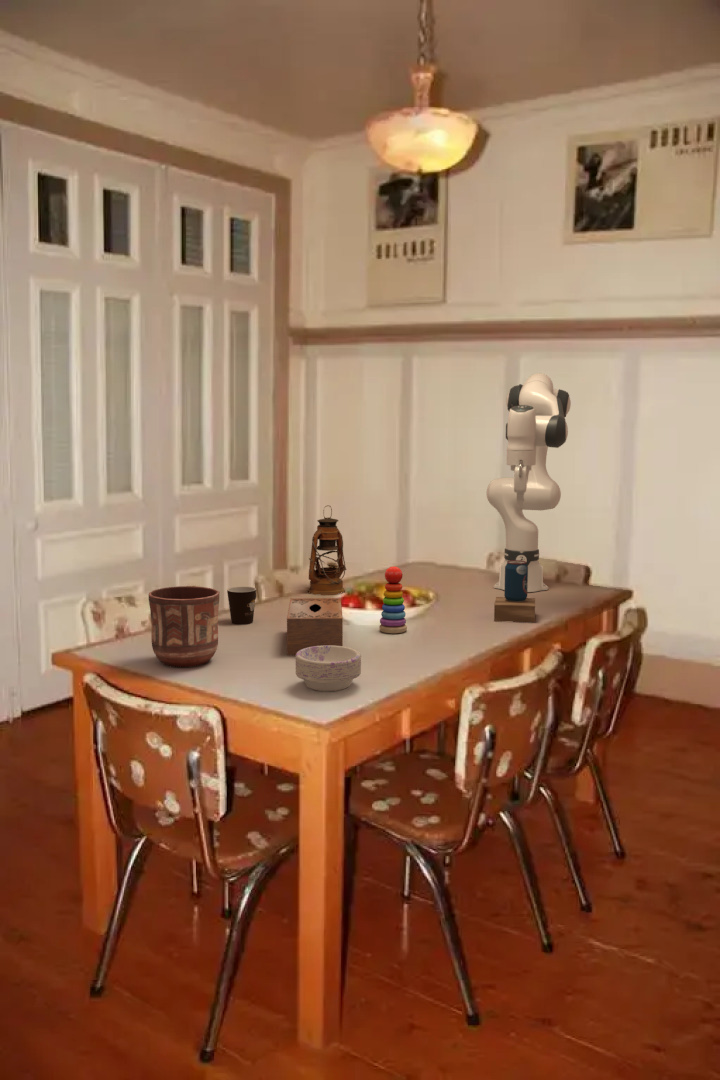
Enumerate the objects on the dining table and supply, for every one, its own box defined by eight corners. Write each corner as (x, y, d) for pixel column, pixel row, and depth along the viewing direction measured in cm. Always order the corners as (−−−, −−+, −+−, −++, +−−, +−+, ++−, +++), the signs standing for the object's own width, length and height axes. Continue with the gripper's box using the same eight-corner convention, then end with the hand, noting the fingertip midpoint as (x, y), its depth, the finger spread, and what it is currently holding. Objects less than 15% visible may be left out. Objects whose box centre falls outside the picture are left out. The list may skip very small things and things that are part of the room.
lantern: (330, 585, 349) (330, 502, 344) (356, 590, 340) (356, 504, 335) (295, 592, 336) (294, 505, 332) (322, 597, 328) (321, 508, 323)
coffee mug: (237, 626, 285) (237, 593, 284) (222, 621, 292) (221, 589, 291) (270, 621, 293) (270, 588, 291) (254, 616, 299) (254, 584, 298)
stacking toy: (411, 633, 278) (412, 568, 276) (385, 635, 275) (386, 570, 273) (400, 627, 286) (400, 563, 283) (375, 629, 283) (375, 565, 280)
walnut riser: (495, 612, 305) (496, 596, 304) (534, 614, 303) (535, 598, 302) (494, 621, 293) (494, 604, 292) (534, 622, 291) (535, 606, 290)
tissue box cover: (290, 632, 280) (290, 598, 278) (340, 632, 280) (340, 598, 279) (287, 656, 254) (286, 618, 253) (342, 655, 255) (342, 618, 253)
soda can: (529, 602, 296) (530, 563, 294) (506, 602, 295) (507, 563, 294) (524, 597, 303) (525, 559, 301) (502, 598, 302) (503, 559, 301)
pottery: (152, 673, 237) (151, 600, 235) (147, 655, 254) (145, 587, 251) (225, 668, 242) (224, 597, 240) (215, 651, 259) (214, 584, 256)
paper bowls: (346, 699, 218) (346, 664, 216) (284, 691, 223) (284, 657, 222) (370, 680, 232) (370, 648, 230) (312, 674, 237) (311, 642, 236)
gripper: (531, 462, 288) (530, 508, 290) (532, 456, 308) (531, 499, 310) (509, 462, 289) (508, 508, 291) (511, 456, 309) (511, 499, 311)
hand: (520, 503), depth 301 cm, fingers open, 8 cm apart
